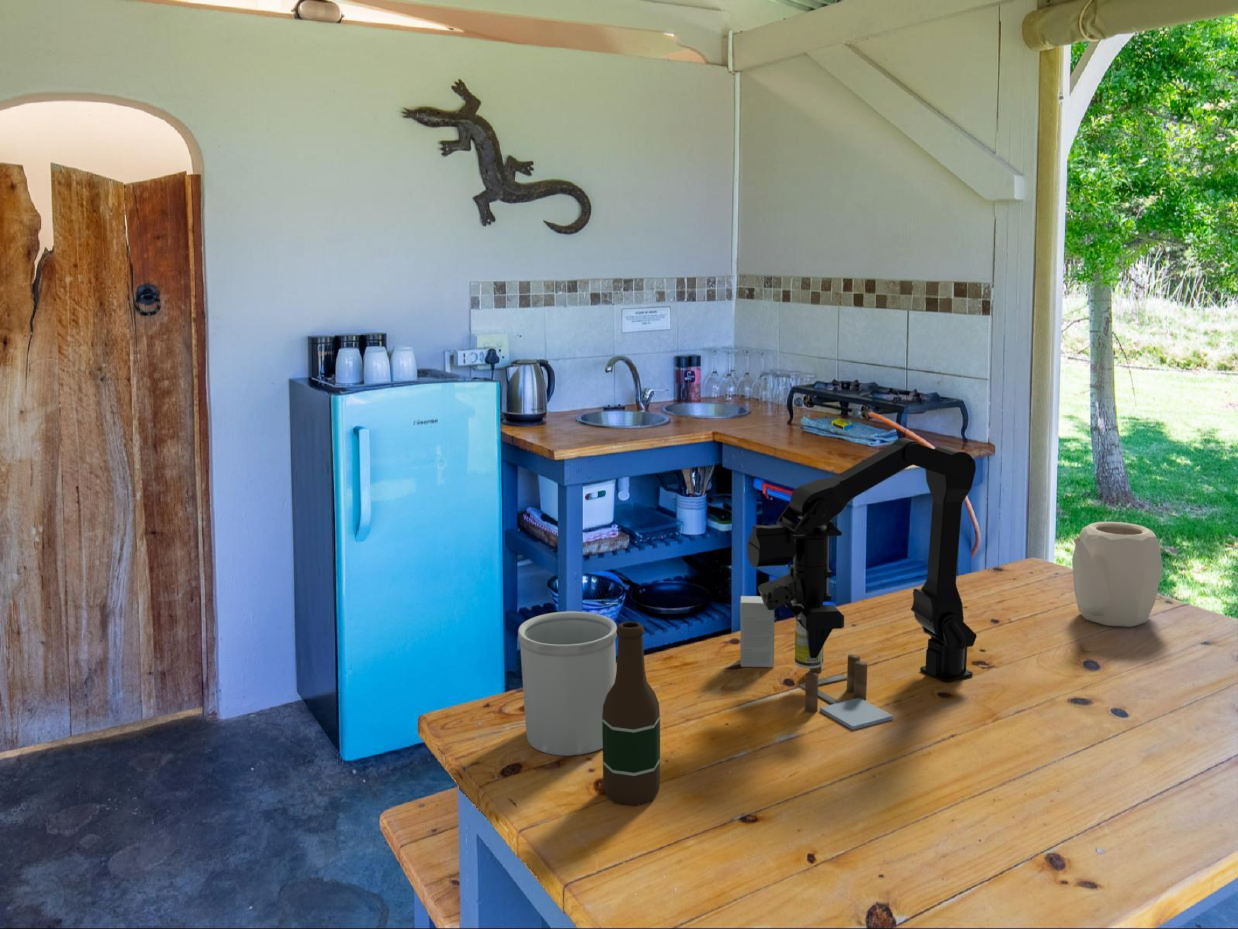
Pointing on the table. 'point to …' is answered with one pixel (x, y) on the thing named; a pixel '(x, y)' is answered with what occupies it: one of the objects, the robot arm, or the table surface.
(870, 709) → the pad
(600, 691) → the utensil holder
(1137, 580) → the faceted clay vase
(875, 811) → the table surface
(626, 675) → the beer bottle
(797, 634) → the supplement bottle
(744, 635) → the skincare box
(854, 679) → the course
